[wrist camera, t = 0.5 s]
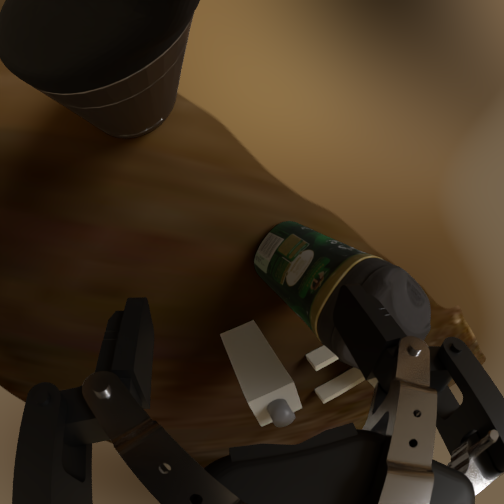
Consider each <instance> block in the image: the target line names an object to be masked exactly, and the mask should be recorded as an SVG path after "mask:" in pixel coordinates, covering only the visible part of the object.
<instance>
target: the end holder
mask: <svg viewBox="0 0 504 504" xmlns="http://www.w3.org/2000/svg"><path fill="white" fill-rule="evenodd" d="M306 358H307V360H308V361H309V363H310V364H311V365H312V366H313V368H314V369H315V370H316V371H317V370H319V369H321V368H323V367H325V366H327V365H329V364H330V363H332V362H334V361H336V360H338V359H339V358H338V357H337V356H336V355H335V354H334V353H332V352H331V351H330V350H329V349H328V348H327V347H326V346H325V345H324V346H322V347H320V348H318V349H316V350H314V351H312V352H310V353H308V354H306ZM363 380H365V378H364V376H363V374H362V372H361V371H360V370H359V369H357V368H355V367H353V368H351V369H350V370H348V371H346V372H344V373H343V374H341V375H339V376H337V377H336V378H334V379H332V380H330V381H329V382H327V383H325V384H323V385H321V386H319V387H317V388H316V389H315V393H316V394H317V395H318V397H319V398H320V399H321V401H322V402H323V404H324V403H326V402H328V401H330V400H331V399H333V398H335V397H337V396H339V395H340V394H342V393H344V392H345V391H347V390H349V389H350V388H352V387H354V386H355V385H357V384H359V383H360V382H362V381H363ZM368 381H369V382H370V383H371V384H372V385H373V386H374V387H375V385H376V383H377V382H378V380H377V379H376V378H373V379H370V380H368Z"/></svg>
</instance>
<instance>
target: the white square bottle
mask: <svg viewBox="0 0 504 504" xmlns="http://www.w3.org/2000/svg"><path fill="white" fill-rule="evenodd" d="M220 336H221V339H222V341H223V344H224V346H225V349H226V351H227V354H228V356H229V359H230V361H231V364H232V366H233V369H234V371H235V374H236V376H237V378H238V381H239V383H240V386H241V388H242V390H243V393H244V395H245V397H246V400H247V402H248V404H249V406H250V408H251V409H252V411H253V413H254V415H255V416H256V418H257V420H258V422H259V424H260V425H261V427H262V426H264V425H267V424H269V423H271V422H273V423H274V425H275V426H276V427H284V426H287V425H289V424H290V423H291V422H293V420H294V419H295V415H294V413H293V412H295V411H297V410H299V409H301V408H302V405H301V402H300V399H299V396H298V393H297V390H296V387H295V384H294V381H293V380H292V378H291V377H290V375H289V374H288V372H287V371H286V369H285V368H284V366H283V365H282V363H281V362H280V360H279V359H278V357H277V356H276V354H275V353H274V351H273V349H272V348H271V346H270V345H269V343H268V342H267V340H266V339H265V337H264V335H263V334H262V332H261V331H260V329H259V328H258V326H257V324H256V323H255V321H254V320H252V321H250V322H247V323H245V324H243V325H240V326H238V327H236V328H233V329H231V330H229V331H226V332H224V333H221V334H220Z"/></svg>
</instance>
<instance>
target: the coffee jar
mask: <svg viewBox="0 0 504 504" xmlns="http://www.w3.org/2000/svg"><path fill="white" fill-rule="evenodd" d="M254 266H255V270H256V272H257V274H258V275H259V276H260V277H261V278H262V279H263V280H264V281H265V282H266V283H267V284H268V285H269V287H270V288H271V289H273V291H275V292H276V293H277V294H278V295H279V296H280V297H281V299H283V301H284V302H285V303H286V304H287V305H288V306H289V307H290V308H291V309H292V310H293V311H294V312H295V313H296V314H297V315H298V316H299V317H300V318H301V319H302V320H303V321H304V322H305V323H306V324H307V325H308V326H309V327H310V329H311V330H312V331H313V332H314V334H315V335H316V336H317V338H318V339H319V340H320V341H321V342H322V344H323V345H325V346H326V347H327V348H328V349H329V350H330V351H331V352H332V353H334V354H335V355H336V356H337V357H338V358H339V360H340V361H341V362H343V363H345V364H348V365H350V366H352V367H355V368H357V369H359V367H358V365H357V364H356V362H355V360H354V358H353V357H352V355H351V353H350V351H349V350H348V348H347V346H346V344H345V343H344V341H343V339H342V337H341V336H340V334H339V332H338V330H337V329H336V327H335V325H334V322H333V311H334V308H335V304H336V301H337V297H338V294H339V290H340V287H341V286H342V285H348V284H357V283H358V284H360V285H361V286H362V287H363V289H364V290H365V291H366V292H367V294H368V293H369V294H371V295H372V296H374V297H375V298H377V299H378V300H379V301H380V302H381V304H382V305H383V306H384V307H385V309H386V310H387V311H388V312H389V313H390V314H389V315H391V316H392V317H393V319H394V320H395V321H396V322H397V324H398V325H399V326H400V327H401V329H402V330H403V331H404V333H405V334H406V335H407V336H414V337H417V338H420V339H421V340H424V339H425V337H426V336H427V334H428V332H429V331H430V328H431V326H430V314H431V312H430V303H429V300H428V297H427V295H426V294H425V293H424V291H423V289H422V288H421V287H420V285H419V284H418V283H417V282H416V281H415V280H414V279H413V278H412V277H411V276H410V275H409V274H408V273H407V272H406V271H405V270H403V269H402V268H400V267H398V266H395V265H393V264H391V263H389V262H387V261H385V260H383V259H382V258H379V257H377V256H374V255H370V254H367V253H364V252H362V251H359V250H357V249H355V248H353V247H350V246H348V245H346V244H343V243H341V242H339V241H336V240H334V239H332V238H330V237H327V236H325V235H323V234H321V233H318V232H316V231H314V230H312V229H310V228H307V227H305V226H303V225H301V224H298V223H296V222H291V221H286V222H282V223H280V224H278V225H276V226H275V227H274V228H273V229H272V230H271V231H270V232H269V233H268V234H267V236H266V237H265V238H264V239H263V241H262V243H261V244H260V246H259V248H258V250H257V252H256V254H255V258H254ZM359 370H360V369H359Z"/></svg>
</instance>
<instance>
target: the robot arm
mask: <svg viewBox="0 0 504 504" xmlns="http://www.w3.org/2000/svg"><path fill="white" fill-rule="evenodd" d="M199 1H200V0H6V1H5V3H4V5H3V7H2V10H1V12H0V58H1V60H2V62H3V63H4V65H5V66H6V67H7V68H8V69H9V70H10V71H11V72H12V73H13V74H14V75H16V76H17V77H18V78H20V79H21V80H23V81H25V82H26V83H28V84H29V85H31V86H33V87H34V88H36V89H37V90H39V91H41V92H42V93H44V94H45V95H47V96H48V97H50V98H52V99H53V100H55V101H57V102H58V103H60V104H62V105H63V106H65V107H66V108H68V109H69V110H71V111H73V112H74V113H76V114H77V115H79V116H80V117H82V118H83V119H85V120H87V121H88V122H90V123H91V124H93V125H94V126H96V127H97V128H99V129H101V130H102V131H104V132H105V133H107V134H109V135H111V136H114V137H118V138H135V137H138V136H142V135H145V134H147V133H149V132H151V131H153V130H154V129H155V128H157V127H158V126H159V125H161V124H162V123H163V121H164V120H165V119H166V118H167V117H168V115H169V114H170V112H171V111H172V109H173V106H174V103H175V100H176V95H177V89H178V85H179V79H180V74H181V69H182V63H183V59H184V54H185V49H186V45H187V40H188V35H189V31H190V26H191V22H192V18H193V14H194V11H195V9H196V8H197V6H198V4H199ZM389 314H390V313H389V312H388V311H387V310H386V309H385V307H384V306H383V305H382V304H381V302H380V301H379V300H378V299H377V298H375V297H374V296H372V295H371V294H369V293H368V294H367V292H366V291H365V290H364V289H363V287H362V286H361V285H360V284H358V283H357V284H348V285H342V286H341V287H340V290H339V294H338V297H337V301H336V304H335V308H334V311H333V322H334V325H335V327H336V329H337V330H338V332H339V334H340V336H341V337H342V339H343V341H344V343H345V344H346V346H347V348H348V350H349V351H350V353H351V355H352V357H353V358H354V360H355V362H356V364H357V365H358V367H359V369H360V371H361V372H362V374H363V376H364V378H365V380H370V379H373V378H376V379H377V380H378V382H377V383H376V385H375V389H374V394H373V398H372V403H371V407H370V411H369V415H368V419H367V421H366V424H365V426H364V427H363V429H362V430H358V429H356V428H355V426H354V424H353V423H350V424H347V425H343V426H340V427H336V428H333V429H329V430H326V431H324V432H322V433H320V434H318V435H316V436H314V437H312V438H310V439H308V440H306V441H304V442H302V443H300V444H297V445H278V444H257V445H250V446H242V447H233V448H229V455H228V456H225V457H222V458H220V459H218V460H216V461H214V462H212V463H211V464H209V465H208V466H206V467H205V468H202V467H201V466H200V465H199V464H198V463H197V462H196V461H195V460H194V459H193V458H192V457H191V456H190V455H189V454H188V453H187V452H186V451H185V450H184V449H183V448H182V447H181V446H180V445H179V444H178V443H177V442H176V441H175V440H174V439H173V438H172V437H171V436H170V435H169V434H168V433H167V432H166V431H165V430H164V428H163V427H162V426H161V425H160V424H159V423H158V422H156V421H153V420H152V419H151V418H150V417H149V415H148V414H147V413H146V412H145V411H144V410H143V409H150V393H151V375H152V361H153V348H154V329H153V324H152V319H151V314H150V310H149V305H148V300H147V298H146V297H144V298H128V299H127V302H126V306H125V310H124V311H116V312H115V313H114V314H113V315H112V317H111V318H110V319H109V320H108V324H107V327H106V332H105V335H104V340H103V342H102V346H101V350H100V354H99V358H98V362H97V366H96V370H95V373H93V374H91V375H90V376H89V377H87V378H86V380H85V381H84V383H83V385H82V386H80V387H77V388H72V389H67V390H63V391H59V390H58V388H57V387H56V386H55V385H53V384H51V383H47V382H44V383H39V384H37V385H35V386H34V387H33V388H32V389H31V390H30V391H29V393H28V396H27V399H26V403H25V408H24V412H23V417H22V422H21V426H20V432H19V438H18V444H17V451H16V458H15V467H14V478H13V497H12V504H93V503H92V479H91V477H92V471H91V470H92V466H91V465H92V443H96V442H100V441H105V440H111V441H112V443H113V445H114V447H115V449H116V450H117V452H118V453H119V455H120V456H121V457H122V459H123V460H124V461H125V463H126V464H127V465H128V467H129V468H130V469H131V470H132V472H133V473H134V474H135V475H136V476H137V478H138V479H139V480H140V481H141V482H142V484H143V485H144V486H145V487H146V488H147V489H148V490H149V492H150V493H151V494H152V495H153V496H154V497H155V498H156V499H157V500H158V501H159V502H160V503H161V504H475V495H476V494H478V493H479V492H480V491H481V490H482V489H484V488H485V487H486V486H487V485H489V484H490V483H491V482H492V481H493V480H495V479H497V478H498V477H500V476H501V475H503V474H504V398H503V396H502V394H501V393H500V392H499V390H498V388H497V387H496V386H495V384H494V383H493V381H492V380H491V378H490V377H489V375H488V374H487V373H486V371H485V370H484V368H483V367H482V365H481V364H480V363H479V361H478V360H477V359H476V357H475V356H474V355H473V353H472V352H471V351H470V349H469V348H468V347H467V345H466V344H465V343H464V342H463V341H461V340H460V339H458V338H455V337H448V338H446V339H445V340H444V342H443V344H442V345H441V347H428V346H427V344H426V343H425V342H424V341H423V340H421V339H420V338H417V337H414V336H407V335H406V334H405V333H404V331H403V330H402V329H401V327H400V326H399V325H398V324H397V322H396V321H395V320H394V319H393V317H392V316H391V315H389ZM452 378H453V380H454V381H455V383H456V384H457V386H458V387H459V389H460V391H461V392H462V394H463V402H462V404H461V405H459V403H458V402H457V400H456V399H455V397H454V395H453V394H452V392H451V390H450V389H449V387H448V386H447V385H448V384H449V382H450V381H451V380H452ZM436 427H437V429H438V431H439V433H440V435H441V437H442V439H443V441H444V443H445V445H446V447H447V449H448V451H449V453H450V455H451V462H449V463H448V465H447V466H446V465H444V464H442V463H439V462H437V461H435V460H433V459H432V457H433V448H434V440H435V430H436Z"/></svg>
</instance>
